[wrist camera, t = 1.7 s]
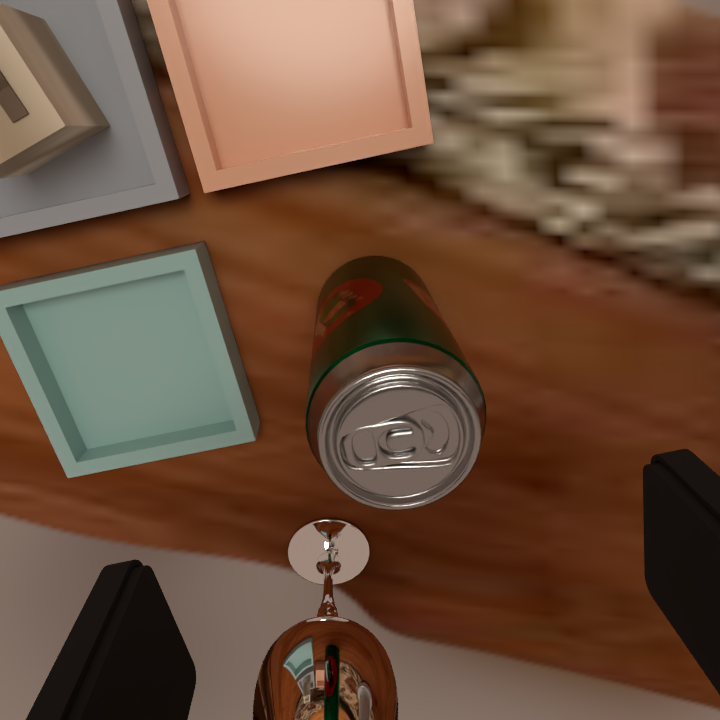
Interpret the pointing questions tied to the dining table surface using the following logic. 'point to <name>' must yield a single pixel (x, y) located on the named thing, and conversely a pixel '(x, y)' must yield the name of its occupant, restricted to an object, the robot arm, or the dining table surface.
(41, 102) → the letter cube
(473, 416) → the soda can
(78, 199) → the tray slate
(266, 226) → the dining table surface
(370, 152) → the tray terracotta
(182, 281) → the tray teal
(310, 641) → the wineglass
